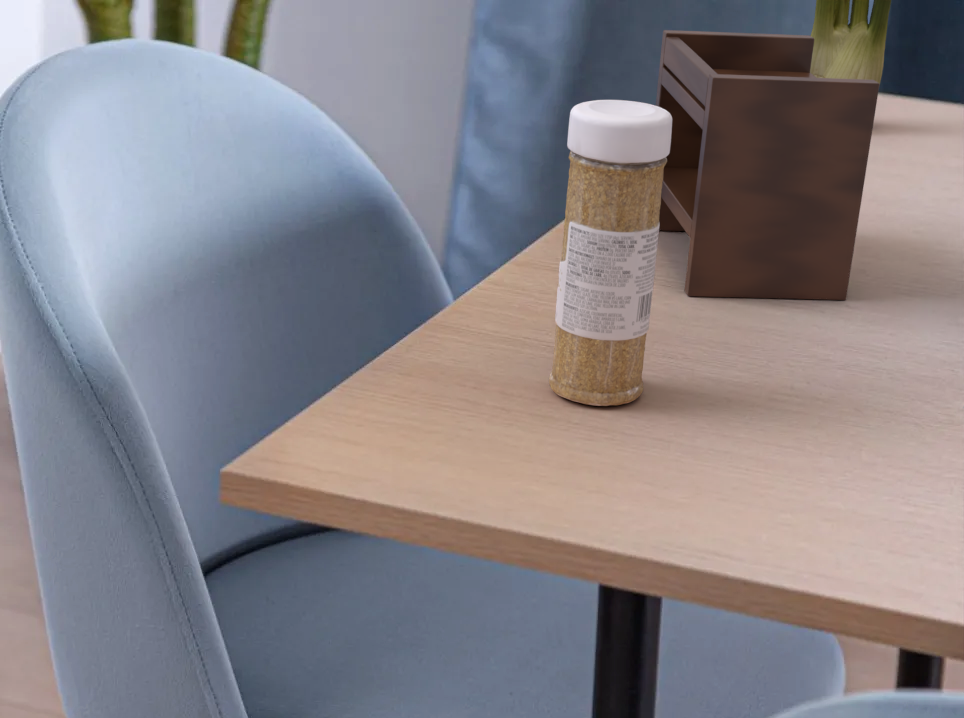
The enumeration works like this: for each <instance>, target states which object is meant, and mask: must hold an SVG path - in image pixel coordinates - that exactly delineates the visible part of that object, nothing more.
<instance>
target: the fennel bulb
mask: <svg viewBox="0 0 964 718" xmlns="http://www.w3.org/2000/svg"><path fill="white" fill-rule="evenodd" d="M850 3H851V8H850ZM891 4H892V0H873V3H872V8H871V12H870V16H869V10H870V0H815V11H814V18H813V24H812V29H811V33H810V36H811V37H813V38H814V47H813V54H812V61H811V68H810V73H811V74H813V75H814V76H815V77H816V78H836V79H865V80H875V81H876V82H878V83H879V86H880V85H881V80H882V76H883V70H884V62H885V49H886V41H887V35H888V34H887V32H888V24H889V23H888V22H889V17H890V16H889V15H890V11H891V6H892V5H891ZM850 9H851V10H850ZM849 15H850V16H849Z"/></svg>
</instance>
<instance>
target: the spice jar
mask: <svg viewBox="0 0 964 718" xmlns="http://www.w3.org/2000/svg"><path fill="white" fill-rule="evenodd" d="M567 129H568V130H567V143H566V147H567V149H568V150H570V151H569V155H568V160H569V161H570V162H569V169H568V181H567V190H566V200H565V210H564V214H565V216H564V217H565V218H564V221H563V236H562V245H561V257H560V260H559V267H558V276H557V277H558V279H557V291H556V301H555V315H554V320H555V336H554V347H553V359H552V369H551V371H550V374H549V378H548V383H549V386H550V388H551V390H552V391H553V392H554V393H555V394H556V395H557V396H559V397H561V398H564V399H566V400H569V401H572V402H575V403H580V404H583V405H589V406H597V407H608V406H620V405H624V404H629V403H631V402H633V401H636V400H637V399H638V398H639V397H640V396H641V395H642V393H643V391H644V381H643V369H644V359H645V350H646V340H647V333H648V331H649V330H650V329H649V328H650V319H651V309H652V302H653V293H654V284H655V283H654V282H655V276H656V275H655V274H656V264H657V263H656V262H657V255H658V254H657V253H658V244H659V236H660V235H659V234H660V230H659V226H660V223H659V214H660V205H661V189H662V182H663V172H664V171H663V170H664V166H665V165H666V163H667V158H666V157H667V156H668V155H669V153H670V145H671V133H672V116H671V114H670V113H669V112H668V111H667V110H665V109H663V108H661V107H658V106H656V104H655V105H654V104H651V103H647V102H643V101H641V102H640V101H634V100H623V99H595V100H589V101H583V102H580V103H578V104H575V105H574V106H572V108H571V109H570V112H569V120H568V128H567Z"/></svg>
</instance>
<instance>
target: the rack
mask: <svg viewBox="0 0 964 718" xmlns="http://www.w3.org/2000/svg"><path fill="white" fill-rule="evenodd" d="M810 35H811V34H810ZM810 35H808V34H807V35H805V34H782V33H781V34H780V33H757V32H755V33H753V32H726V31H724V32H723V31H703V30H702V31H701V30H677V29H676V30H674V29H673V30H672V29H663V31H662V40H661V48H660V49H661V50H660V59H659V69H658V78H657V87H656V88H657V89H656V98H655V106H658V107H661V108H663V109H665V110H667V111H668V112H669V113H670V114H671V116H672V133H671V145H670V153H669V155H668V156H667V157H666V158H667V163H666V165H665V166H664V170H663V171H664V172H663V182H662V189H661V205H660V214H659V223H660V226H659V232H660V231H661V232H662V231H665V232H685V233H686V234H687V236H688V237H689V247H688V257H687V266H686V274H685V283H684V292H685V294H686V295H687V297H703V298H704V297H709V298H710V297H712V298H743V299H745V298H749V299H751V298H752V299H786V300H787V299H789V300H825V301H830V300H831V301H832V300H833V301H846V300H847V295H848V288H849V284H850V283H849V282H850V276H851V269H852V263H853V258H854V250H855V244H856V237H857V233H858V232H857V231H858V225H859V219H860V212H861V206H862V200H863V199H862V198H863V192H864V186H865V180H866V173H867V167H868V162H869V161H868V160H869V154H870V149H871V142H872V135H873V129H874V122H875V115H876V110H877V105H878V104H877V103H878V96H879V89H880V85H879V83H878V82H876V81H875V80H865V79H836V78H816V77H815V76H814V75H813V74H811V73H810V68H811V61H812V54H813V47H814V38H813V37H811V36H810Z"/></svg>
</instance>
